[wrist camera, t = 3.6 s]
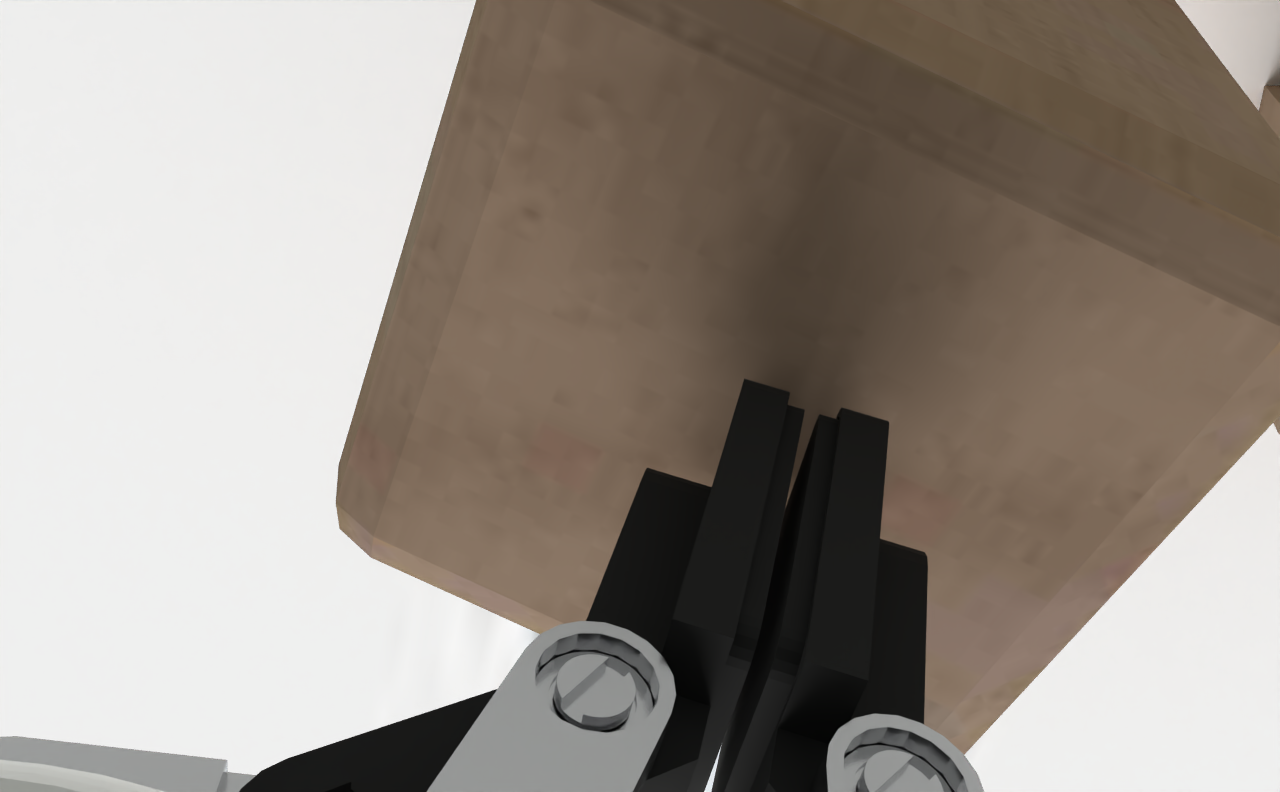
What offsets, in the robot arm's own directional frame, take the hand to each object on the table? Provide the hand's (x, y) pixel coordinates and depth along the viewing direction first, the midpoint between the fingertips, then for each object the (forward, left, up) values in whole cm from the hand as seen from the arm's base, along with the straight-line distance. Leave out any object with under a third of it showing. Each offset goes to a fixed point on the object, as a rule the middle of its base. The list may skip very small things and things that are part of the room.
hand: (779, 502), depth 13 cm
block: (0, 0, -21) cm, 21 cm away
